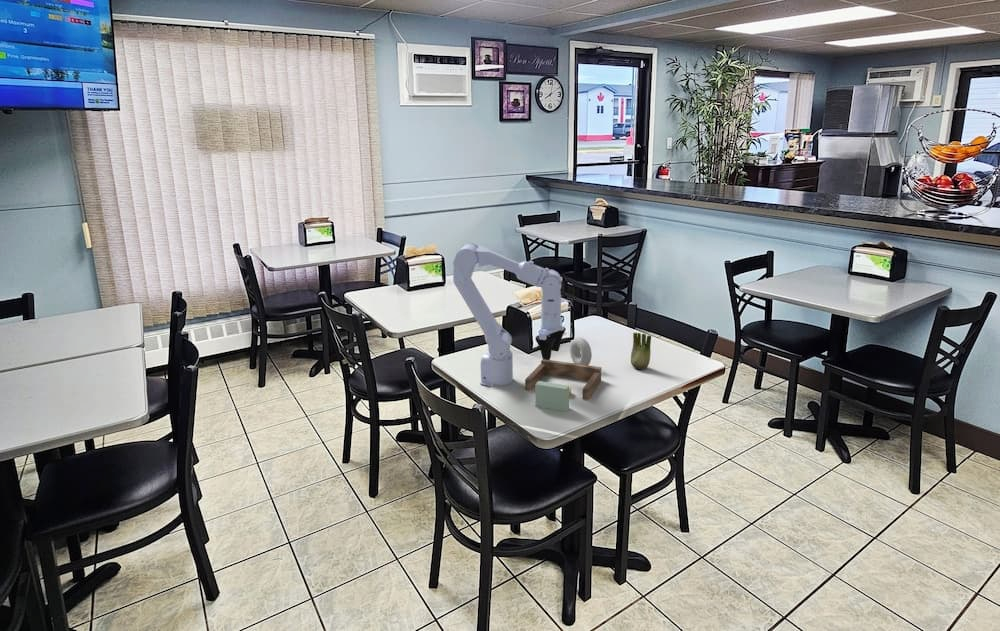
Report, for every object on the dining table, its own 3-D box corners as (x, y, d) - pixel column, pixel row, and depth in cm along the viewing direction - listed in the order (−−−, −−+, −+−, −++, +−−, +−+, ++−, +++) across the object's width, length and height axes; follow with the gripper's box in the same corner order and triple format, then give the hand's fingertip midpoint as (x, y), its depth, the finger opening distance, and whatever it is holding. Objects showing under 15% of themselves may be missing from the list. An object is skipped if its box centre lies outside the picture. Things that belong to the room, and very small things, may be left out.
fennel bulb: (651, 369, 190) (653, 334, 186) (639, 372, 188) (641, 337, 184) (638, 363, 195) (640, 329, 191) (627, 366, 192) (629, 331, 189)
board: (535, 407, 165) (535, 384, 163) (538, 403, 167) (538, 380, 165) (566, 412, 161) (566, 389, 159) (568, 408, 163) (569, 385, 161)
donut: (593, 371, 189) (594, 341, 186) (584, 373, 188) (585, 343, 185) (576, 360, 198) (577, 332, 195) (567, 362, 197) (568, 334, 194)
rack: (525, 391, 176) (525, 376, 174) (542, 373, 188) (542, 358, 187) (587, 402, 168) (588, 386, 167) (601, 382, 181) (601, 367, 179)
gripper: (555, 320, 166) (555, 365, 170) (571, 306, 179) (571, 348, 183) (532, 317, 169) (532, 361, 173) (549, 304, 181) (549, 345, 186)
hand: (550, 354), depth 178 cm, fingers open, 7 cm apart
